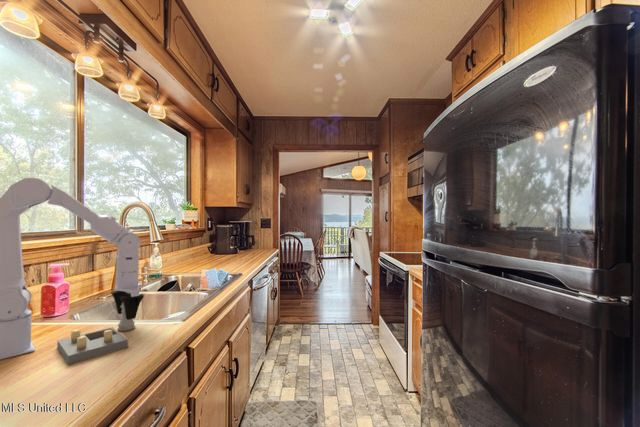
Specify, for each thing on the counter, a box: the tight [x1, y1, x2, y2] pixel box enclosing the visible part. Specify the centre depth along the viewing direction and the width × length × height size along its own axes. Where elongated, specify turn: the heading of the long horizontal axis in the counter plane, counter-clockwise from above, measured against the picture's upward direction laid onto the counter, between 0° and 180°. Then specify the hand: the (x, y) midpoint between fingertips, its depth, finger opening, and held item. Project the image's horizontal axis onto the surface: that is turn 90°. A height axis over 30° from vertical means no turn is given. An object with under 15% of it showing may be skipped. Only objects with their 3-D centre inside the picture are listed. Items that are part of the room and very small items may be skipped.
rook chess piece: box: [117, 303, 136, 332], centre depth 89 cm, size 4×4×8 cm
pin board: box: [56, 326, 129, 365], centre depth 76 cm, size 13×12×4 cm
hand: (126, 315), depth 89 cm, fingers open, 7 cm apart
